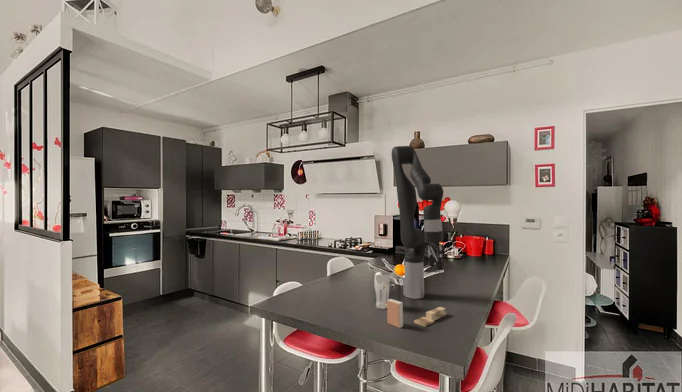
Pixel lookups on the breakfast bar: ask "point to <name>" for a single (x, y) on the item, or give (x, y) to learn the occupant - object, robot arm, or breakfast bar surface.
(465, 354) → the breakfast bar surface
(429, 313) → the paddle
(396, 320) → the tile
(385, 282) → the beer glass
